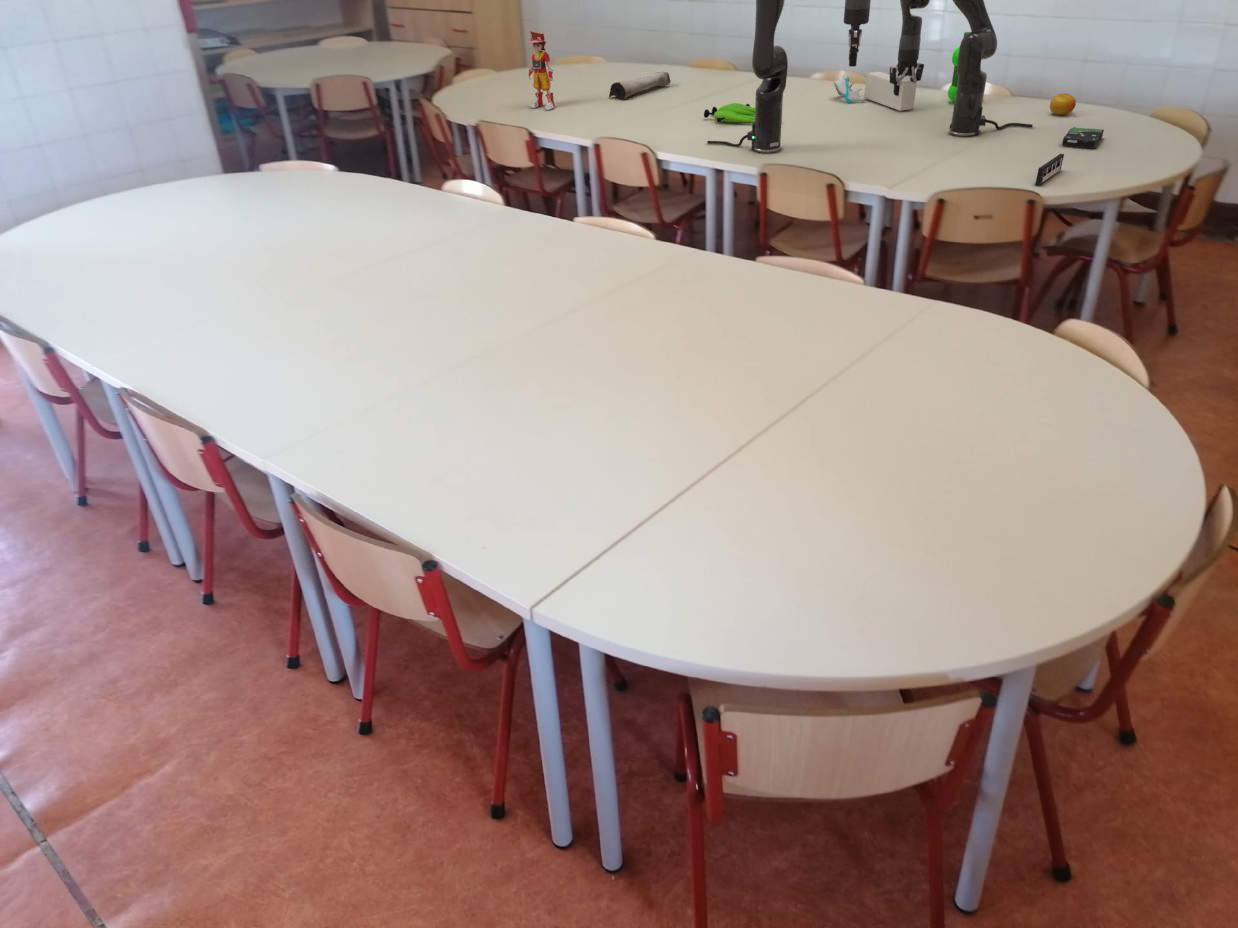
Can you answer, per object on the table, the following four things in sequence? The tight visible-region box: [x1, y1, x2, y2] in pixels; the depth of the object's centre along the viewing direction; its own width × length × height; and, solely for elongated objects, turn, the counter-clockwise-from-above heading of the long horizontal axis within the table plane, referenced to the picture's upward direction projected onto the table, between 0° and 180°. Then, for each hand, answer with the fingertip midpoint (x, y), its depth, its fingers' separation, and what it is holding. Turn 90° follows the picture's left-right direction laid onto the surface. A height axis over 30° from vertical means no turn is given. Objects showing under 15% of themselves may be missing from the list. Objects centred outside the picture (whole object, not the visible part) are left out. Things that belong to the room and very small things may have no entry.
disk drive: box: [1062, 127, 1105, 149], centre depth 302 cm, size 10×3×15 cm
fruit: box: [1049, 93, 1077, 116], centre depth 330 cm, size 8×8×8 cm
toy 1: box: [527, 31, 556, 111], centre depth 374 cm, size 12×9×30 cm
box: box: [863, 71, 918, 112], centre depth 354 cm, size 25×6×9 cm, turn 19°
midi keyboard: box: [1035, 153, 1065, 186], centre depth 273 cm, size 18×1×5 cm, turn 138°
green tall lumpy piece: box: [947, 31, 971, 104], centre depth 347 cm, size 10×10×25 cm
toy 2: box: [703, 102, 755, 124], centre depth 348 cm, size 28×5×30 cm
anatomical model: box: [833, 74, 866, 104], centre depth 365 cm, size 15×10×10 cm
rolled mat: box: [608, 71, 672, 101], centre depth 395 cm, size 30×9×10 cm
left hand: (852, 63), depth 281 cm, fingers open, 8 cm apart
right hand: (903, 94), depth 346 cm, fingers closed on box, 6 cm apart
